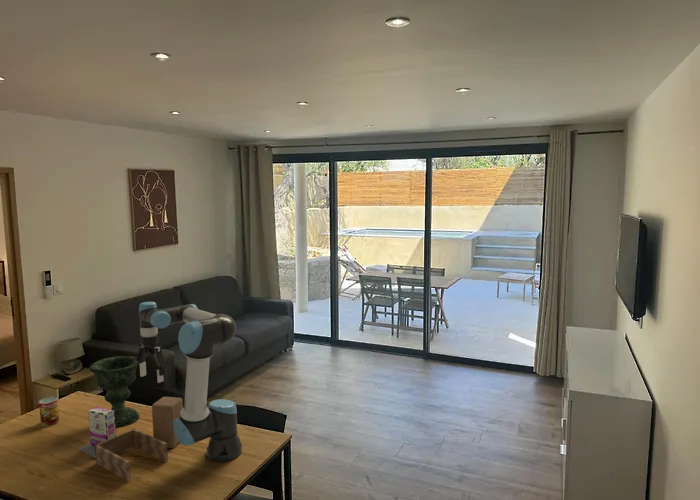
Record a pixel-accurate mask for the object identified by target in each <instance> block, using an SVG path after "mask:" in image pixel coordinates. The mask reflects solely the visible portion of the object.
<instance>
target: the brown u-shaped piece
mask: <svg viewBox="0 0 700 500" xmlns="http://www.w3.org/2000/svg"><path fill="white" fill-rule="evenodd" d="M133 448H136V449H137V450H141V451H142V452H145V453H146V454H148V455H150V456H153V457H154V458H157V459H159V460H161V461H163V462H165V463H167V462H168V461H169V457H168V448H167V443H165V442H163V441H161V440H159V439H156V438H154V436H153V435H150V434H147V433H145V432H143V431H141V430H138V429H136V428H132V429H129V430H128V431H125V432H123V433H121V434H119V435H116V437H113V438H111V439H109V440H106V441H104V442H102V443H99V444H97V445H95V455H96V458H95V463H96V464H97V465H98V466H99V467H101V468H103V469H105V470H107V471H109V472H111V473H113V474H114V475H116V476H117V477H119V478H121V479H123V480H124V481H126V482H131V481H132V477H131V462H130V460H128V459H125V458H124V457H122V456H120V454H122V453H124V452H127V451H129V450H130V449H133Z"/></svg>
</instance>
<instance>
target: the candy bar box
mask: <svg viewBox="0 0 700 500" xmlns="http://www.w3.org/2000/svg"><path fill="white" fill-rule="evenodd" d="M87 411H88V424H89V439H90V443H91V445H93V446H95V445H97V444H99V443H102V442H104V441H106V440H109V439H111V438H113V437H116V436H117V432H116V427H115V413H114V410H111V408H110V409H109V408H105V407H100V406H96V407H93V408H92V409H91V408H90V410H87Z"/></svg>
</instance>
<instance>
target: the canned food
mask: <svg viewBox="0 0 700 500" xmlns="http://www.w3.org/2000/svg"><path fill="white" fill-rule="evenodd" d="M58 404H59V400H58V397H57V396H49V397H45V398H41V399H40V400H39V401H38V407H39V419H40V426H42V427H43V426H45V427H46V428H47V426H48V427H52V425H53V426H55V425H57V424H59V423H60V413H59V405H58ZM45 427H44V428H45Z"/></svg>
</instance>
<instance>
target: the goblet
mask: <svg viewBox="0 0 700 500" xmlns="http://www.w3.org/2000/svg"><path fill="white" fill-rule="evenodd" d="M136 358H137V356H133V355H118V356H117V355H116V356H112V357H111V356H110V357H106V358H102V359H99V360H97V361H95V362H93V363H92V364H91V365H90V366H89V371H90V372H92V373H93V374H94V377H95V378H96V381H97V382H96V384H97V387H99V388H101V389H102V390H106V393H105V394H104V400H105V401H106V402H107V403H109V404H110V405H111V408H110V410H114V413H115V428H119V427H124V426H127V425H130V424H133V423H135V422H137V421H138V420H139V419H140V414H139V412H138V411H137V410H136V409H135V408H133V407H130V406H126V405H125V403H126V401H127V400H128V399H129V397H130V396H131V394H132V393H131V390H130V389H129V388H128V387H129V386H131V385H132V384H133V383H134V382H135V380H136V378H137V377H136V376H137V375H136V372H137V368H138V367H139V366H140V364H139V362H138V361H136Z"/></svg>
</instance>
